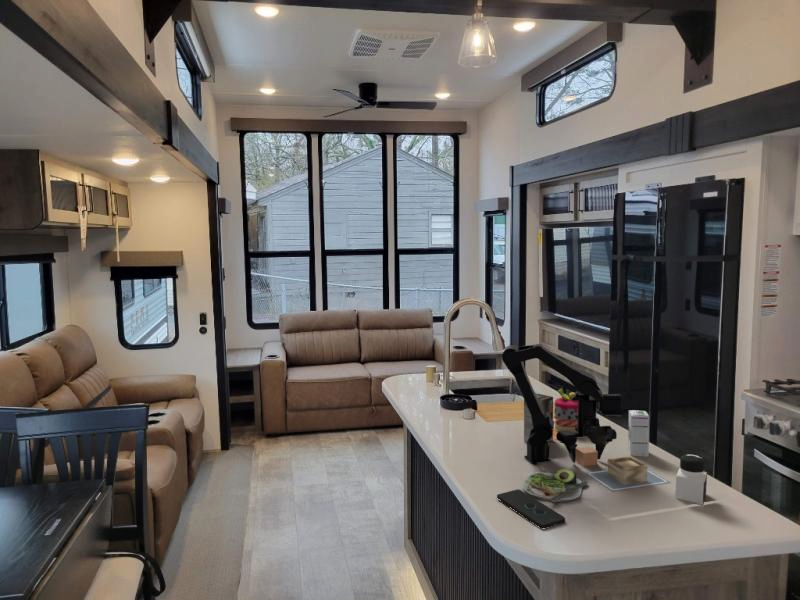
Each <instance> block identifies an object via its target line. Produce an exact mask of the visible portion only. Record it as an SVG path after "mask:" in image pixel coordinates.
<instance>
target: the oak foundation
mask: <svg viewBox="0 0 800 600" xmlns="http://www.w3.org/2000/svg"><path fill="white" fill-rule="evenodd" d="M647 469H648V465H647V464H646V463H643V462H642V461H640V460H638V459H636V458H634V456H631V455H630V456H629V455H627V456H620V457H615V458H608V459H607V470H608V473H607V474H608V475H610V476H611V477H613V478H614V479H616V480H617V481H619V482H620V483H622V484H624V485H625V484H632V483H639V482H645V481H647ZM648 470H649V469H648Z"/></svg>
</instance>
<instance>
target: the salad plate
mask: <svg viewBox="0 0 800 600" xmlns="http://www.w3.org/2000/svg"><path fill="white" fill-rule="evenodd" d="M588 484H589V482H588V481H587V480H583V481H582V480H581V479H579V478H577V474H576V473H575V471H573V470H572V469H569V468H560V469H558V470H556V471H555V472H554V473H549V472H539V471H538V472H532V473H529V474H527V476H526V477H525V480H524V483H523V486H522V490H523V492H524V493H526V494H528V495H529V496H531V497H533V498H534V499H536V500H541V499H542V500H541V501H549V502H551V503H560V502H567V501H573V500H577V499H578V498H580V497H581V495H582V489H583V488H584V487H585V486H586V485H588ZM532 487H534V488H537V489H540V490H542V491H543V494H537V493H536V492H534V491H533V490H532Z"/></svg>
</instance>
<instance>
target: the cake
mask: <svg viewBox="0 0 800 600" xmlns="http://www.w3.org/2000/svg"><path fill="white" fill-rule="evenodd" d="M557 391H558V394H559V395H560V396H561V397H559V398H556V399H555V401H554V407H555V408H554V411H553V414H554V415H553V419H555V421H554V430H556V431H557V430H558V431H565V430H568V431H570V432H572V433H577V431H576V430H575V427H577V424H578V419H576V418H575V415H578V400H572V395H574V394H575V393H576V392H573V391H572V392H569V394H566V393H564V390H563V388H559V389H558V390H557ZM558 431H557V432H558Z"/></svg>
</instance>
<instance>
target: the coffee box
mask: <svg viewBox="0 0 800 600" xmlns="http://www.w3.org/2000/svg"><path fill="white" fill-rule="evenodd" d="M536 396H537V399H538V401H539V403H540V406H541V408H542V409H543V411H544V412H545V413H547V412H550V415H551V418H552V420H553V421H554V397H553V396H552V395H551V396H550V395H546V394H541V393H537V394H536ZM532 429H533V424H532V418H531V414H530V412H529V409H528V407H527V405H526V402H525V400H524V399H523V441H524V443H527V441H528V437H529V432H530V430H532ZM553 440H554V434H553V435H552V437H551V439H549V440H547V442H550V441H553Z"/></svg>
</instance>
